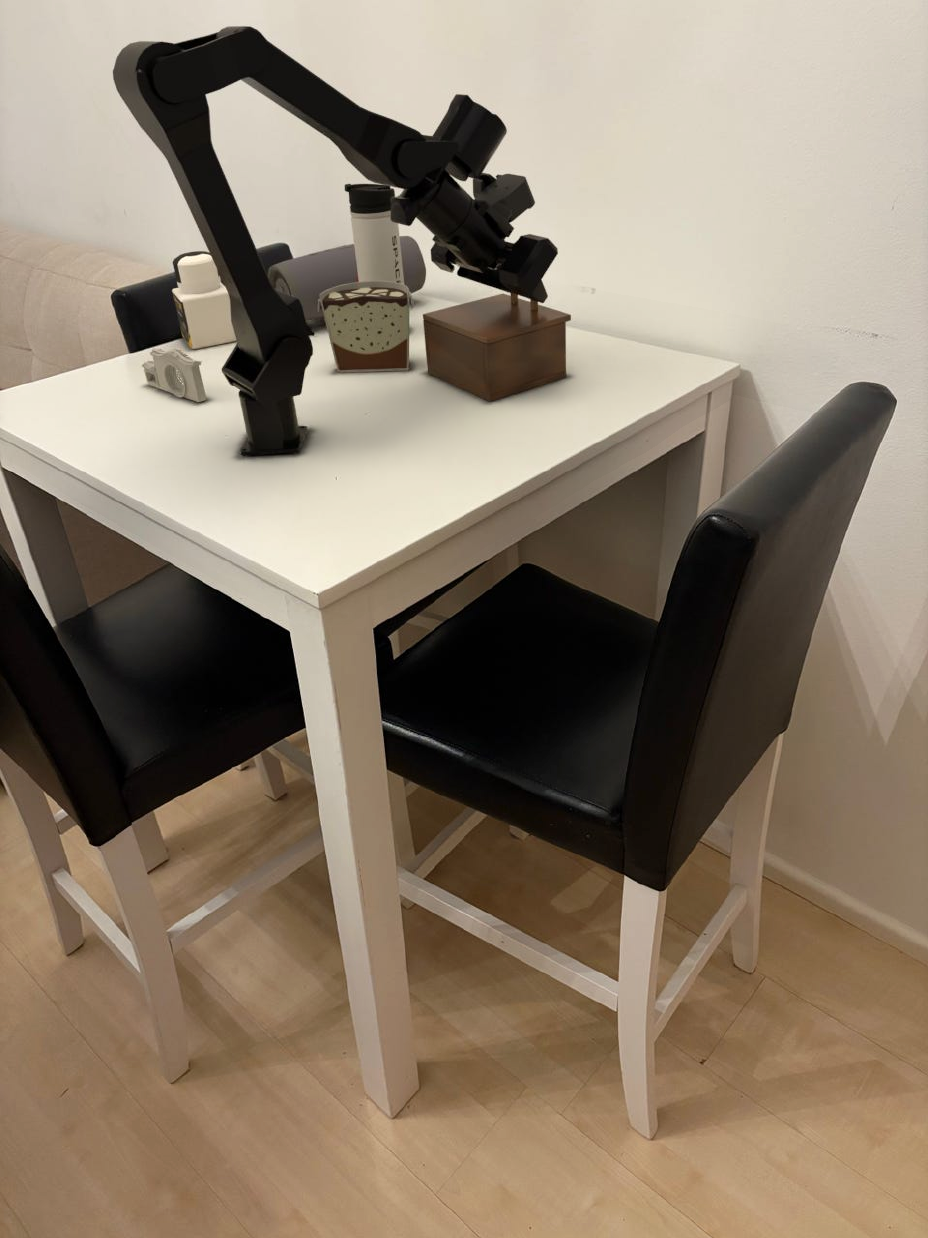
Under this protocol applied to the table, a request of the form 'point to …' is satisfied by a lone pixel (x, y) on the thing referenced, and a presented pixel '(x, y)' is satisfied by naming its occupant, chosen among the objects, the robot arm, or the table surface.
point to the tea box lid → (496, 317)
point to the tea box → (496, 360)
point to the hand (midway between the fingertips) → (531, 295)
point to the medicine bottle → (201, 301)
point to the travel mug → (375, 233)
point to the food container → (368, 325)
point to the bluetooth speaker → (337, 273)
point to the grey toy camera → (175, 374)
